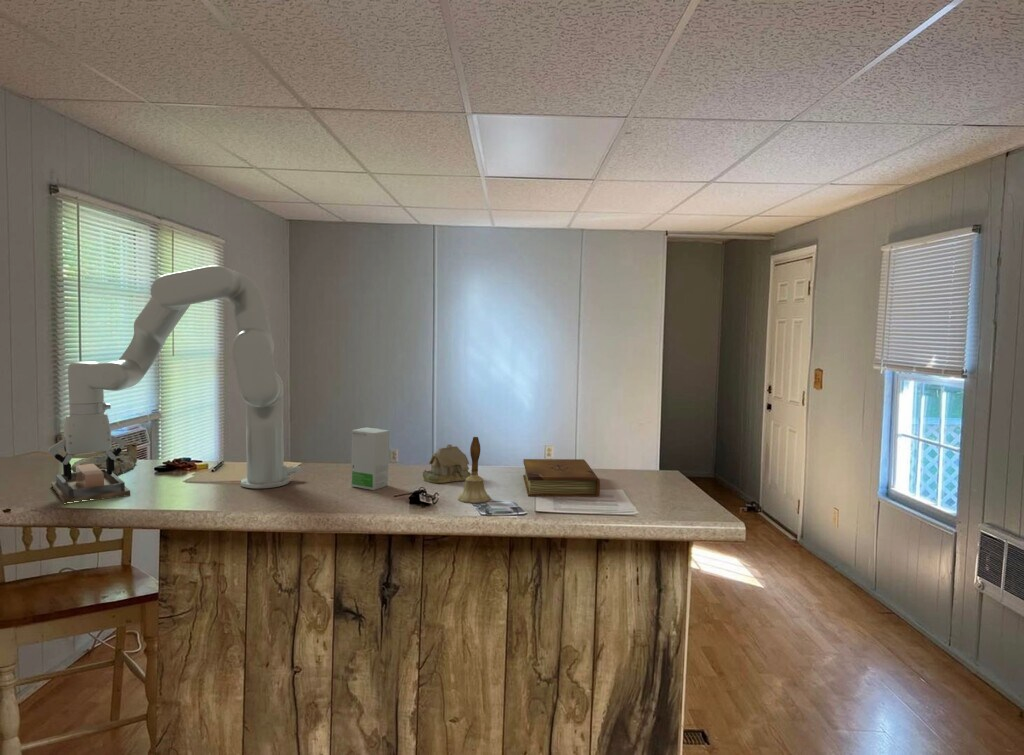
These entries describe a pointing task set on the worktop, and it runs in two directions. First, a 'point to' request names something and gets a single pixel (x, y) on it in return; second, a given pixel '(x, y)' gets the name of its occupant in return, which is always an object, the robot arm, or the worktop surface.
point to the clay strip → (89, 476)
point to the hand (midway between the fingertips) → (89, 476)
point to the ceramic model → (447, 466)
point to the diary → (560, 478)
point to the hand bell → (474, 479)
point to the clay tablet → (121, 462)
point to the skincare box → (369, 458)
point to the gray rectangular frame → (89, 488)
